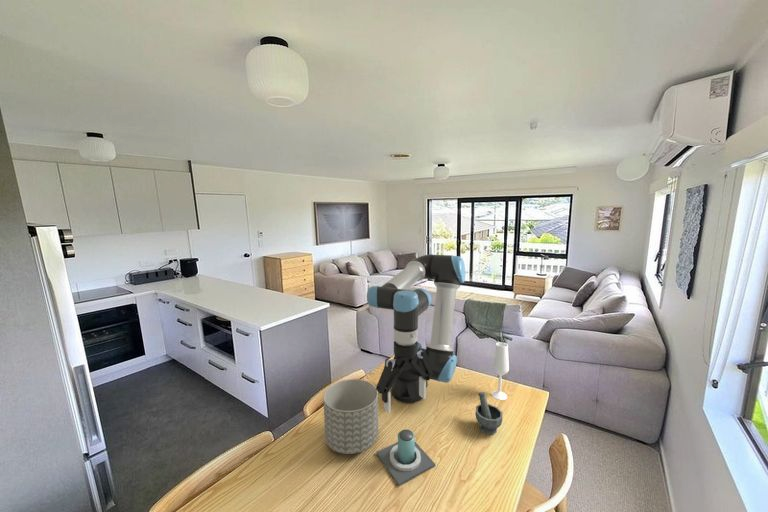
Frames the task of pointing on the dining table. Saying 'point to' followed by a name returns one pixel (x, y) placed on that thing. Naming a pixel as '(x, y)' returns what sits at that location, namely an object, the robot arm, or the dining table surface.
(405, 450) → the teal and grey peg
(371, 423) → the planter
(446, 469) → the dining table surface
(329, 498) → the dining table surface
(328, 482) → the dining table surface
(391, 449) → the holder
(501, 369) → the champagne flute
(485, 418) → the mortar and pestle
